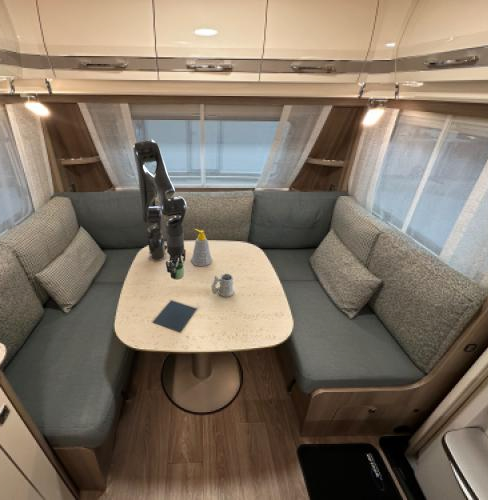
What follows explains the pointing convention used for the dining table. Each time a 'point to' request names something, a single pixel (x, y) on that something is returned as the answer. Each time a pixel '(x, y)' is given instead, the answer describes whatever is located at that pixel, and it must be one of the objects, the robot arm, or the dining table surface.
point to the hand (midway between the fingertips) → (177, 274)
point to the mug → (223, 285)
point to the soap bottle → (201, 251)
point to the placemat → (175, 316)
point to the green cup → (179, 271)
